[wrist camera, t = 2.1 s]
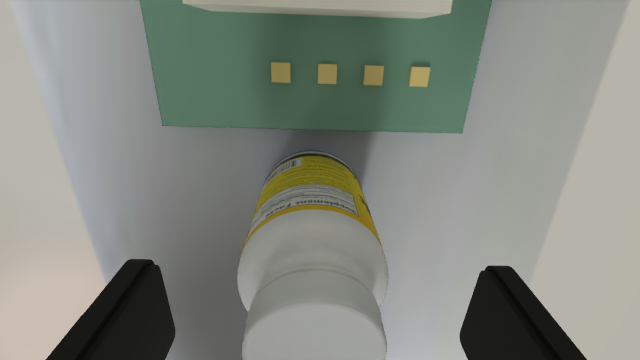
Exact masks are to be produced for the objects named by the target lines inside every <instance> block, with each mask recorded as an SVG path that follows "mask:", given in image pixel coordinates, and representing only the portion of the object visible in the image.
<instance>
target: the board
mask: <svg viewBox="0 0 640 360" xmlns="http://www.w3.org/2000/svg"><path fill="white" fill-rule="evenodd" d="M491 2H492V0H140V3H141V9H142V14H143V20H144V25H145V31H146V36H147V42H148V48H149V53H150V59H151V64H152V70H153V75H154V81H155V87H156V92H157V98H158V103H159V109H160V114H161V120H162V126H190V127H230V128H270V129H310V130H350V131H390V132H430V133H462V131H463V127H464V122H465V118H466V113H467V109H468V104H469V100H470V95H471V91H472V86H473V82H474V78H475V73H476V69H477V64H478V60H479V55H480V51H481V46H482V42H483V37H484V33H485V28H486V24H487V19H488V15H489V10H490V6H491Z"/></svg>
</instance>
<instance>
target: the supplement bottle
mask: <svg viewBox="0 0 640 360" xmlns="http://www.w3.org/2000/svg"><path fill="white" fill-rule="evenodd" d="M237 283H238V290H239V294H240V297H241V300H242V303H243V305H244V306H245V308H246V310H247V311H248V317H247V322H246V326H245V331H244V336H243V341H242V358H243V360H385V357H386V352H387V342H386V336H385V332H384V328H383V324H382V320H381V313H380V309H379V307H380V305H381V303H382V301H383V299H384V297H385V294H386V290H387V285H388V267H387V262H386V258H385V255H384V251H383V248H382V245H381V243H380V240H379V237H378V234H377V231H376V228H375V226H374V223H373V220H372V217H371V214H370V211H369V209H368V206H367V203H366V200H365V197H364V194H363V191H362V188H361V186H360V183H359V181H358V179H357V177H356V175H355V173H354V172H353V171H352V169H351V168H350V167H349V166H348V165H347V164H346V163H345V162H343V161H342V160H340V159H339V158H337V157H335V156H333V155H330V154H327V153H324V152H317V151H305V152H299V153H296V154H293V155H291V156H288V157H286V158H285V159H283V160H282V161H280V162H279V163H278V164H277V165H276V166H275V167H274V168H273V169H272V170H271V171H270V173H269V175H268V176H267V178H266V181H265V183H264V185H263V188H262V191H261V194H260V198H259V200H258V204H257V207H256V210H255V214H254V217H253V220H252V223H251V226H250V229H249V232H248V235H247V238H246V241H245V244H244V247H243V251H242V254H241V259H240V262H239V267H238V273H237Z"/></svg>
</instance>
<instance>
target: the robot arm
mask: <svg viewBox="0 0 640 360" xmlns="http://www.w3.org/2000/svg"><path fill="white" fill-rule="evenodd" d="M174 337H175V326H174V322H173V318H172V314H171V310H170V306H169V302H168V298H167V294H166V290H165V286H164V282H163V278H162V274H161V270H160V267H159V266H158V265H155V264H154V262H153V261H152V260H147V259H130V260H128V261H127V262H126V263H125V264H124V265H123V266H122V267H121V269H120V270H119V271H118V272H117V274H116V275H115V276H114V277H113V278H112V280H111V281H110V282H109V283H108V285H107V286H106V287H105V288H104V290H103V291H102V292H101V293H100V295H99V296H98V297H97V298H96V299H95V301H94V302H93V303H92V304H91V306H90V307H89V308H88V309H87V311H86V312H85V313H84V314H83V315H82V316H81V317H80V318H79V319H78V321H77V322H76V323H75V324H74V326H73V327H72V328H71V329H70V331H69V332H68V333H67V334H66V336H65V337H64V338H63V339H62V340H61V342H60V343H59V344H58V345H57V347H56V348H55V349H54V350H53V351H52V353H51V354H50V355H49V356H48V358H47V359H46V360H165V358H166V356H167V354H168V352H169V350H170V347H171V345H172V343H173V340H174ZM460 341H461V345H462V347H463V349H464V352H465V354H466V356H467V358H468V360H587V359H586V358H585V357H584V355H583V354H582V353H581V352H580V350H579V349H578V348H577V347H576V346H575V344H574V343H573V342H572V341H571V339H570V338H569V337H568V336H567V335H566V333H565V332H564V331H563V330H562V328H561V327H560V326H559V325H558V323H557V322H556V321H555V320H554V318H553V317H552V316H551V315H550V313H549V312H548V311H547V310H546V309H545V307H544V306H543V305H542V304H541V302H540V301H539V300H538V299H537V298H536V296H535V295H534V294H533V293H532V291H531V290H530V289H529V288H528V286H527V285H526V284H525V283H524V281H523V280H522V279H521V278H520V276H519V275H518V274H517V273H516V272H515V270H514V269H513V268H512V267H510V266H487V267H486V269H485V271H481V272H480V274H479V277H478V280H477V283H476V286H475V289H474V292H473V295H472V298H471V301H470V304H469V307H468V310H467V313H466V316H465V319H464V322H463V325H462V328H461V331H460Z"/></svg>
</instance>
